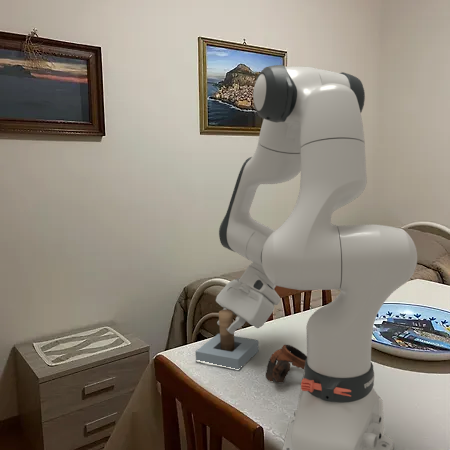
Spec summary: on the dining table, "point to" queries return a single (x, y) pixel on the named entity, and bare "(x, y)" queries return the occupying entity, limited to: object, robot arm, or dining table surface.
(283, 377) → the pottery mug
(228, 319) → the peg
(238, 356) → the socket block
